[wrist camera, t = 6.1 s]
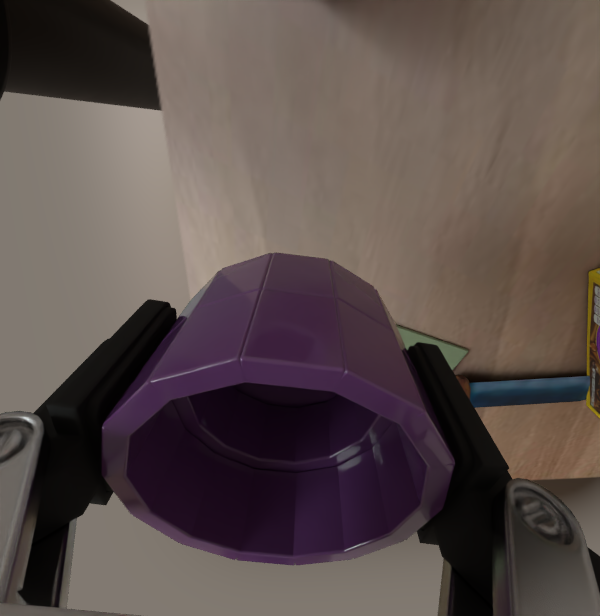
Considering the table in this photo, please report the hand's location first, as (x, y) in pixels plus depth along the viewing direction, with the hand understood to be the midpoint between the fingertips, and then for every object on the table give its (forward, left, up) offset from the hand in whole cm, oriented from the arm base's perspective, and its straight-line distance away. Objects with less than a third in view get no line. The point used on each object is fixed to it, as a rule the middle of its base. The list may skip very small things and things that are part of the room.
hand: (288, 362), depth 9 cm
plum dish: (0, 0, -1) cm, 1 cm away
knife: (+23, -9, -16) cm, 29 cm away
